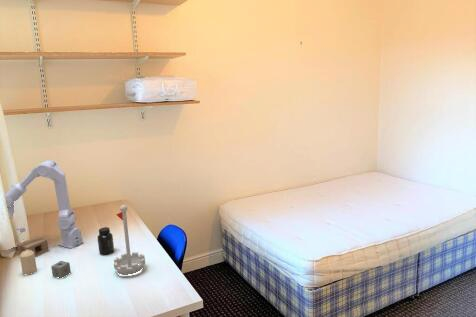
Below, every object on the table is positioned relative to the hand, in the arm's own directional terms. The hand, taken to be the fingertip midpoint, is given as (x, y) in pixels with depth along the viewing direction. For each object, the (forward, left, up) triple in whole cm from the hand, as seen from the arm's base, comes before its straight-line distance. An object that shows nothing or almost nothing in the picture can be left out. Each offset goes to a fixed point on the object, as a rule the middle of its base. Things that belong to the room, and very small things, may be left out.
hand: (15, 243), depth 188 cm
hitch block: (-14, 0, -2) cm, 15 cm away
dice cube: (-45, +8, -3) cm, 45 cm away
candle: (-29, +12, -3) cm, 32 cm away
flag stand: (-69, -8, -3) cm, 70 cm away
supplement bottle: (-46, -16, -3) cm, 49 cm away
